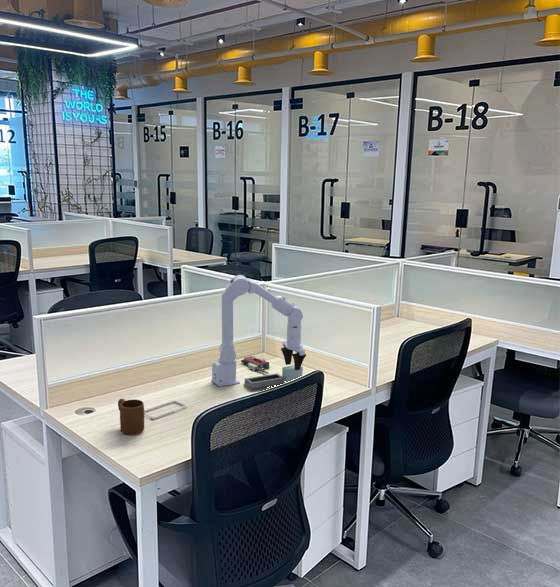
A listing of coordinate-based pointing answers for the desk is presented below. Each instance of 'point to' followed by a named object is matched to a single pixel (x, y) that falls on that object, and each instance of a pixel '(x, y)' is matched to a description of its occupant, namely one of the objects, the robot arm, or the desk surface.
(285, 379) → the blue-grey block
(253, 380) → the grey rectangular tray
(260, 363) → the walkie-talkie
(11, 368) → the desk surface
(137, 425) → the mug
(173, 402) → the grey rectangular frame
